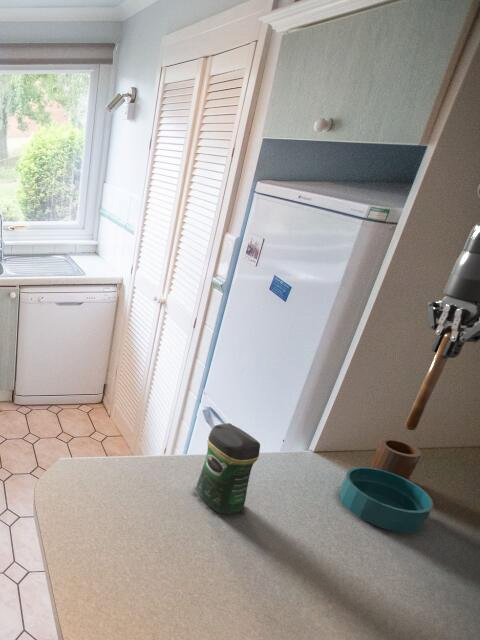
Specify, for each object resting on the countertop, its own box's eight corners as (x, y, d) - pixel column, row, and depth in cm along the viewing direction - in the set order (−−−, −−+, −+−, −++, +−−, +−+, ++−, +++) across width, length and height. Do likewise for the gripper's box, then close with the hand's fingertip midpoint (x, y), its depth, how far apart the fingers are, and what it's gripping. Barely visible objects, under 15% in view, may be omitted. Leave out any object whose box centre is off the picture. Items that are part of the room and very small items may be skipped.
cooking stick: (410, 427, 104) (453, 330, 95) (417, 432, 103) (462, 334, 93) (401, 426, 105) (443, 330, 95) (408, 431, 103) (451, 334, 93)
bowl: (386, 488, 106) (396, 467, 104) (440, 536, 93) (453, 514, 91) (323, 486, 107) (331, 465, 105) (368, 533, 94) (378, 511, 92)
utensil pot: (390, 468, 113) (404, 438, 109) (414, 488, 106) (430, 457, 102) (360, 467, 113) (372, 437, 109) (382, 487, 106) (396, 456, 103)
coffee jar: (249, 512, 100) (271, 442, 92) (219, 519, 98) (239, 449, 90) (217, 483, 108) (234, 417, 101) (188, 489, 106) (204, 422, 99)
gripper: (537, 285, 83) (494, 369, 90) (465, 266, 95) (432, 341, 102) (493, 284, 83) (454, 368, 90) (427, 266, 96) (397, 341, 103)
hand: (443, 354), depth 96 cm, fingers closed on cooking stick, 2 cm apart
